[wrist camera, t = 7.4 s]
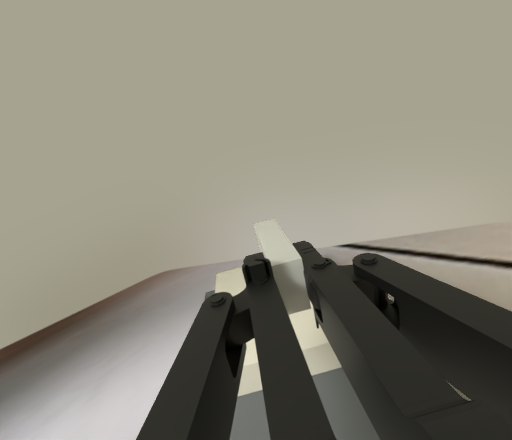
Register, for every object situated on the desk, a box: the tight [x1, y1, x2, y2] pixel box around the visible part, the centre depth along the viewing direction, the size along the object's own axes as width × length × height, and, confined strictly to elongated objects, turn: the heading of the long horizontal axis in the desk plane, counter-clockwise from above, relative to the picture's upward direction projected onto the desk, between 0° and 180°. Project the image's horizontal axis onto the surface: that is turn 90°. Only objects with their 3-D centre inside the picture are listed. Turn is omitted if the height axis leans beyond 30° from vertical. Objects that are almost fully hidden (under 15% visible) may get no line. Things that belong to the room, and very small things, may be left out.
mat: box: [205, 291, 380, 440], centre depth 22 cm, size 20×16×1 cm
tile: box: [215, 267, 342, 397], centre depth 24 cm, size 2×12×14 cm
